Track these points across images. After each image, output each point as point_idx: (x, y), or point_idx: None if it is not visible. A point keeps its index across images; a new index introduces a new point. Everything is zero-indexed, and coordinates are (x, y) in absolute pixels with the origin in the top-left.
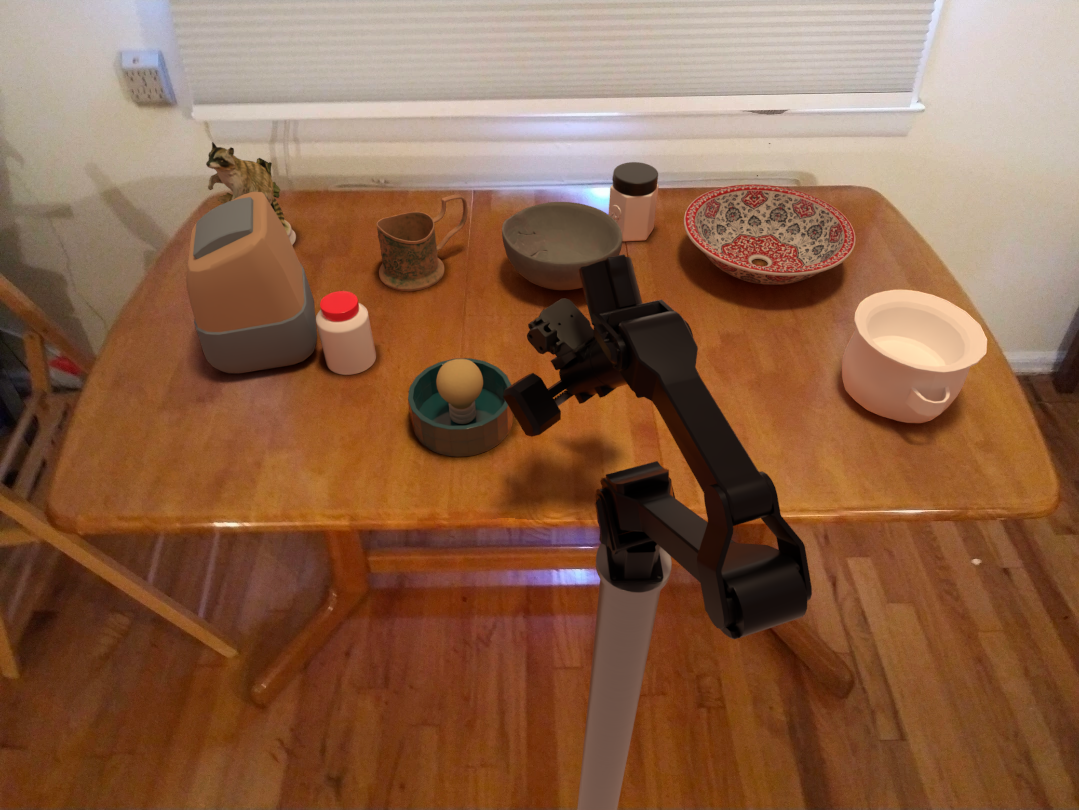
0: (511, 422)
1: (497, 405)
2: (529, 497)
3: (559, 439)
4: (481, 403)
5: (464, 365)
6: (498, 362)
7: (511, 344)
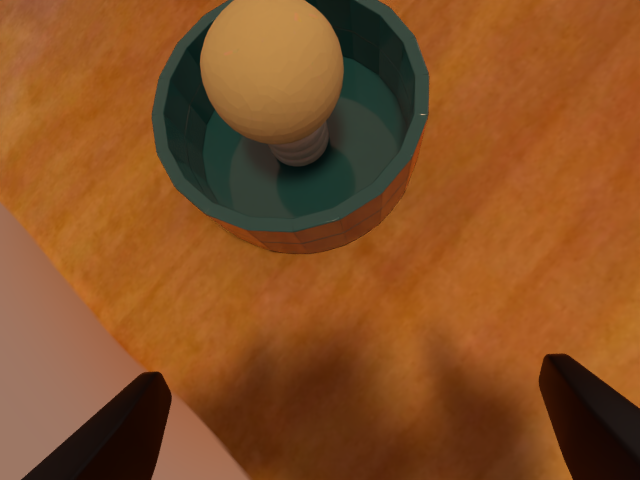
0: (370, 226)
1: (385, 159)
2: (257, 430)
3: (437, 338)
4: (360, 132)
5: (271, 32)
6: (485, 46)
7: (552, 14)
